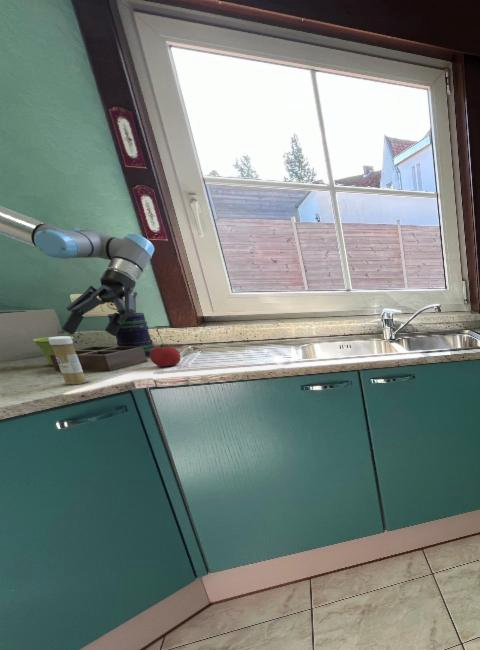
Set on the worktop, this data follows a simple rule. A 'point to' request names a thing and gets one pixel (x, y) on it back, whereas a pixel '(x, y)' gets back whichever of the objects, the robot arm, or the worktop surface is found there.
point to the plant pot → (46, 347)
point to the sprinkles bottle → (67, 359)
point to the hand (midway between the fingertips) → (88, 332)
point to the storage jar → (134, 333)
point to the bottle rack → (106, 357)
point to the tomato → (164, 356)
